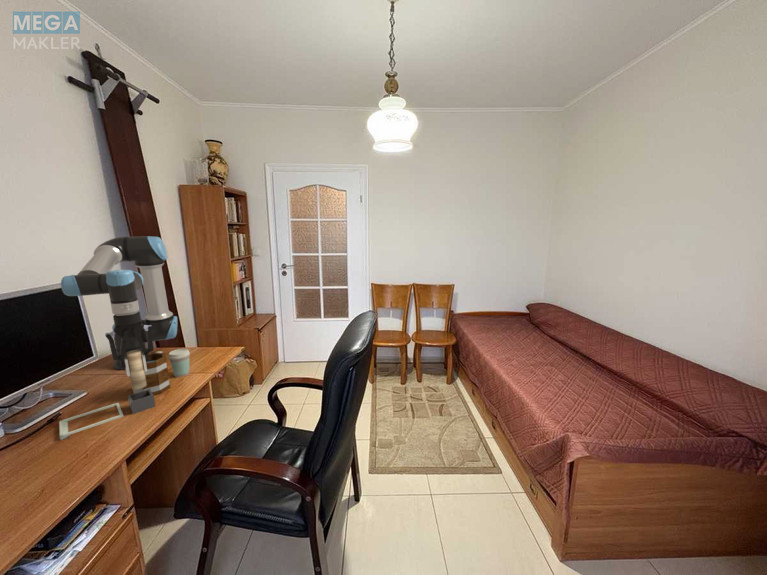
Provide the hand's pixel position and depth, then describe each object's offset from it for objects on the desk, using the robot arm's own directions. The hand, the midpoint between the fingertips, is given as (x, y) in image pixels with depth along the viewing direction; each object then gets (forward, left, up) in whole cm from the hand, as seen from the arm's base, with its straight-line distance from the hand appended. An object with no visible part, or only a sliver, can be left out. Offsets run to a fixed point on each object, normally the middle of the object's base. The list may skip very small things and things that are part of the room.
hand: (137, 372), depth 115 cm
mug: (-15, +7, -15) cm, 22 cm away
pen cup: (0, 0, -15) cm, 15 cm away
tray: (-3, -14, -15) cm, 21 cm away
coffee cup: (-20, +18, -15) cm, 31 cm away
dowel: (0, 0, -6) cm, 6 cm away
